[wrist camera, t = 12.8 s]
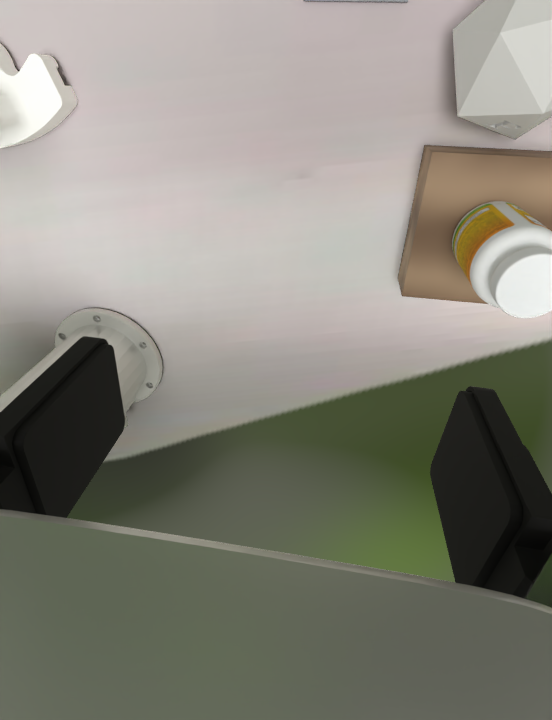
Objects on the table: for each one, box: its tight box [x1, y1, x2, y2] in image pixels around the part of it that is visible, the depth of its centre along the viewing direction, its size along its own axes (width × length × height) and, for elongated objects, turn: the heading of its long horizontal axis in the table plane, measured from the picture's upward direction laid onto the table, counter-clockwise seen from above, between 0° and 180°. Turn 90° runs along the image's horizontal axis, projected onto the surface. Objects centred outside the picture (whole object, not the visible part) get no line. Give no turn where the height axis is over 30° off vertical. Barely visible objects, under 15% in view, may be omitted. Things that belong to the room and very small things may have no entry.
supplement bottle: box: [452, 201, 552, 318], centre depth 28 cm, size 5×5×10 cm
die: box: [453, 0, 552, 139], centre depth 26 cm, size 8×9×10 cm
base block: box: [398, 145, 552, 304], centre depth 33 cm, size 11×11×4 cm
